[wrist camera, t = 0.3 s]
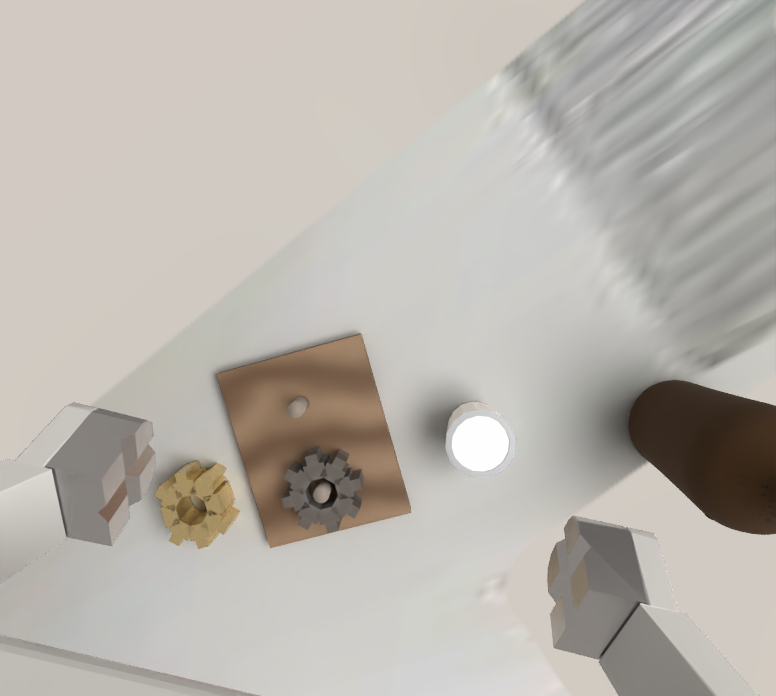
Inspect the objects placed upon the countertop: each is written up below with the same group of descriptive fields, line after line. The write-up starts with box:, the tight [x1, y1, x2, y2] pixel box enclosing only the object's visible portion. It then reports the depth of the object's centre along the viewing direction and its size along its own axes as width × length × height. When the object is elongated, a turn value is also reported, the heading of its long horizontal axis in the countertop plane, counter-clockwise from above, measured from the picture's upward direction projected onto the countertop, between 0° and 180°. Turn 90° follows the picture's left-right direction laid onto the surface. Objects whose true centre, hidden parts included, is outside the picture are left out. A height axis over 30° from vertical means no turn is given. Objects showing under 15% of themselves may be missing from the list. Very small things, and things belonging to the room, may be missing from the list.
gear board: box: [216, 334, 411, 548], centre depth 64 cm, size 20×16×5 cm
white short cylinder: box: [445, 402, 516, 478], centre depth 62 cm, size 7×7×7 cm
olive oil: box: [629, 380, 776, 535], centre depth 52 cm, size 11×11×25 cm
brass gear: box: [154, 460, 240, 549], centre depth 66 cm, size 8×7×4 cm
